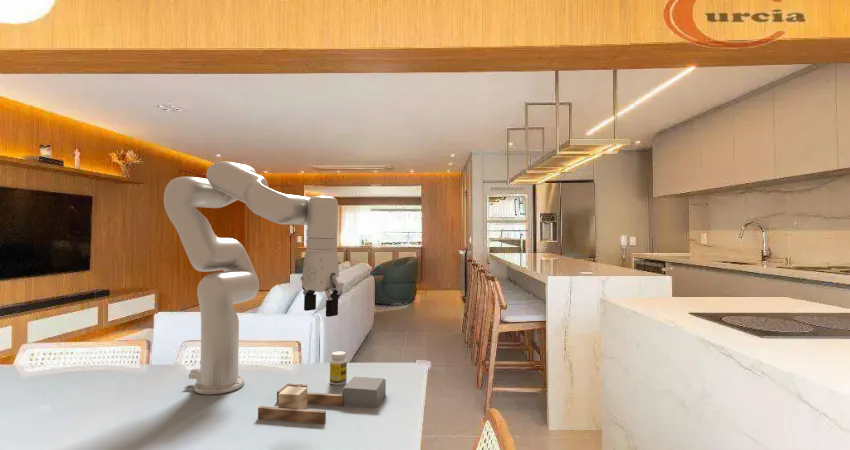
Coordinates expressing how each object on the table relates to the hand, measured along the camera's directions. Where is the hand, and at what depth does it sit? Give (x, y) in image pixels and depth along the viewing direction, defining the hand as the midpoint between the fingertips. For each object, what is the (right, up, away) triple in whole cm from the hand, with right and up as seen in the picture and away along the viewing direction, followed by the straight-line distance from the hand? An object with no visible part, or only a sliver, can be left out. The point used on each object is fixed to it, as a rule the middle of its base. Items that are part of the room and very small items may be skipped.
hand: (320, 312), depth 110 cm
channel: (-3, -23, -3) cm, 23 cm away
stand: (+11, -23, +2) cm, 25 cm away
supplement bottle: (+2, -23, +15) cm, 27 cm away
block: (-5, -23, -5) cm, 24 cm away
